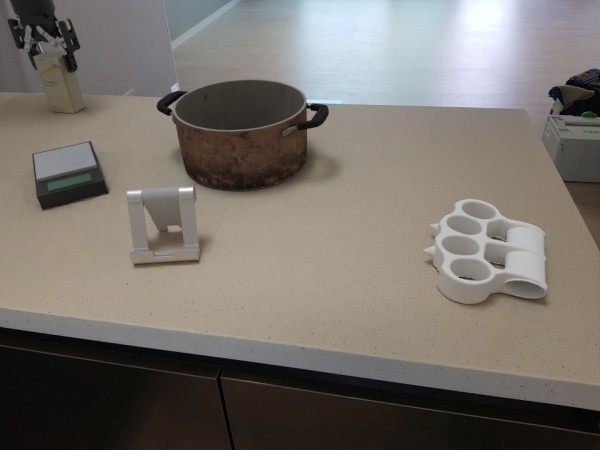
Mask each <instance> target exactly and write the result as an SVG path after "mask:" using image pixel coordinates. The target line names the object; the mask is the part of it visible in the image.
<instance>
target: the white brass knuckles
mask: <svg viewBox="0 0 600 450" xmlns="http://www.w3.org/2000/svg"><path fill="white" fill-rule="evenodd" d="M428 226H429V227H430V228H431V229H432V230H433V231H434V233H436V234H435V237H434V240H433V245H432V246H429V247H427V248H424V249H422V250H421V252H423V253H424V254H426V255H428V256H429V257H431V261H432V266H433V265H434V266H435V267H436V268H437V269H436V268H435V267H434V266H433V267H434V268H435V269H436V270H437V272H438V271H439V272H438V277H437V283H436V286H437V288H438V291H440V293H441V294H442V295H443V296H445V297H446V298H448V299H449V300H451V301H453V302H456V303H459V304H465V305H475V304H479V303H482V302H484V301H486V300H487V298H489V296H490V295H492V294H498V293H501V294H506V295H510V296H513V297H519V298H524V299H543V298H545V296H546V295H547V291H548V287H549V286H548V284H547V282H546V281H547V278H546V277H547V276H546V261H547V257H546V255H545V240H544V239H545V236H546V232H545V231H543V229H541V228H540V227H539V226H537V225H534V224H532V223H528V222H525V221H521V220H516V219H510V218H507V216H506V217H505V216H504V215H502V214H501V213H500V211H499V210H498V208H497V207H496V206H495V205H492V204H491V203H490V202H487V201H485V200H480V199H476V198H475V199H474V198H466V199H461V200H458V201H457V202H455V203H454V205H453V209H452V212H451V213H448V214H445V215H444V216H443V217H442V219H441V220H439V222H438V223H430V224H428ZM462 233H463V234H462ZM492 236H500V237H501V238H502V239H505V240H506V242H504V241H502V240H500V239H495V238H490V237H492ZM452 253H453V254H452ZM456 254H462V255H456ZM488 261H491V262H496V263H500V264H505V266H504V268H503V269H499V268H496V267H494V265H492V263H489V262H488ZM459 277H466V278H459ZM469 278H472V279H469ZM473 279H474V280H473ZM475 280H476V281H475Z"/></svg>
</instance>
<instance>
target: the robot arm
mask: <svg viewBox="0 0 600 450" xmlns="http://www.w3.org/2000/svg"><path fill="white" fill-rule="evenodd" d="M9 3H10V5H11V7H12V10H13V13H14V14H15V15H16V16H14V17H11V18H8V19H7V24H8V28H9V30H10V33H11V36H12V38H13V42H14V44H15V47H16V48H17V49H18V50H23V51H24V52H25V53H27V55H28V58H29V61H30V63H31V66H32V67H33V68H34V70H35V71H38V70H37V67H36V64H35V61H34V58H33V56H36V55H38V54H41V52H40V50H39V49H38V47H39V43H41V42H43V43H46V44H47V43H48V44H50V45H51V46H53V47H54V48H56V49H57V50H58V51H59V52H61V53H62V54H63V55H62V57H63V60H64V62H65V65H66V68H67V71H68V72H69V73H73V72H75V73H76V72H77V71H78V63H77V60H76V56H75V54H74V52H76V51H78V50H80V49H81V45H80V42H79V39H78V36H77V33H76V30H75V27H74V24H73V22H72V20H71V19H70V18H64V19H58V18H57V16H56V14H55V11H56V5H55V2H54V0H9Z"/></svg>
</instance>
